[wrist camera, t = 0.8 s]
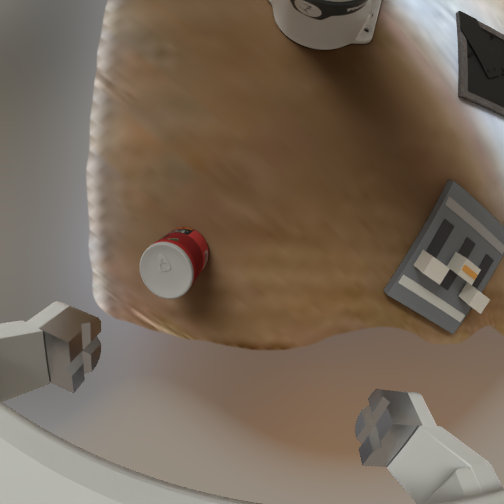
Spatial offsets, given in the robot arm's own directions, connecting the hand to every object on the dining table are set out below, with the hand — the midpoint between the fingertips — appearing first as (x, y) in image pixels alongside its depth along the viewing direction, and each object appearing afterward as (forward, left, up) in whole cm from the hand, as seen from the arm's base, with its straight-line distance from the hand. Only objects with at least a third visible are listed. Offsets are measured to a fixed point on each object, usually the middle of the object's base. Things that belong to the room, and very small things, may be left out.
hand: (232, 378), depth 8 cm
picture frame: (-43, +22, -43) cm, 65 cm away
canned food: (+14, -8, -42) cm, 45 cm away
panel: (-7, +33, -42) cm, 54 cm away
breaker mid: (-7, +33, -40) cm, 52 cm away
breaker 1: (-4, +27, -40) cm, 48 cm away
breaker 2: (-4, +39, -40) cm, 56 cm away
